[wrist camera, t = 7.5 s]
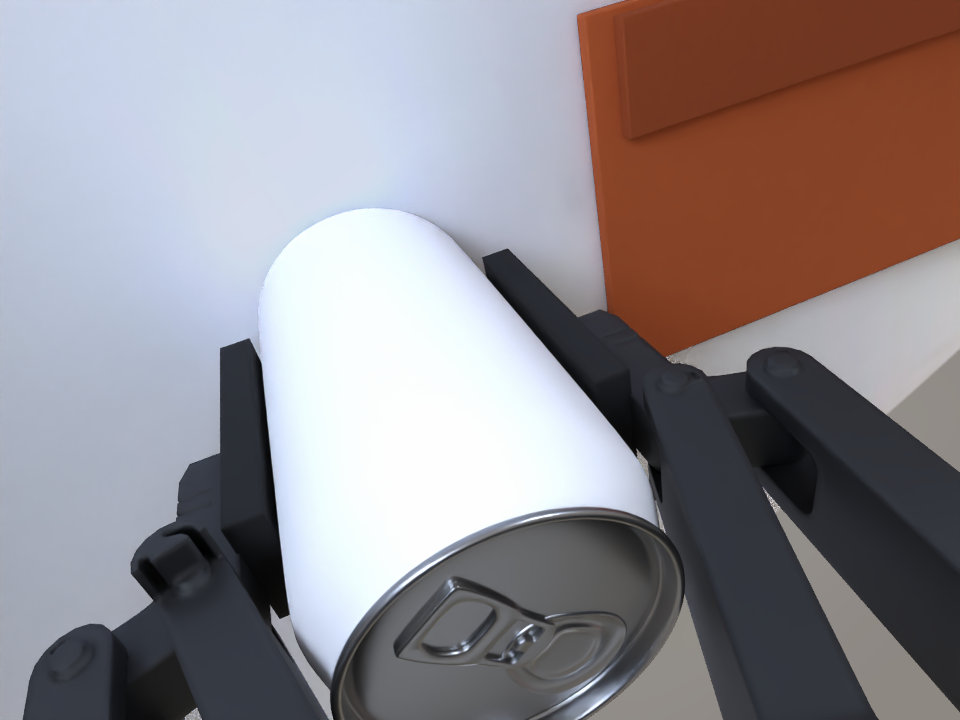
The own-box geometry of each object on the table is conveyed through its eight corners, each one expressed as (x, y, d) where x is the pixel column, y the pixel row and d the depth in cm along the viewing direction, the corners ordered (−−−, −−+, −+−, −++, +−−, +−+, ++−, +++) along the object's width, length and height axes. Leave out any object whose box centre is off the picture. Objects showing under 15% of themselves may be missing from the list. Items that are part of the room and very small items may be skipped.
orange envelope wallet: (613, 368, 24) (627, 383, 23) (575, 14, 17) (593, 16, 16) (1032, 201, 27) (1056, 208, 26) (1142, -153, 20) (1180, -158, 20)
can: (395, 426, 22) (535, 797, 12) (212, 346, 18) (202, 780, 8) (512, 274, 20) (779, 557, 11) (338, 154, 17) (500, 415, 7)
